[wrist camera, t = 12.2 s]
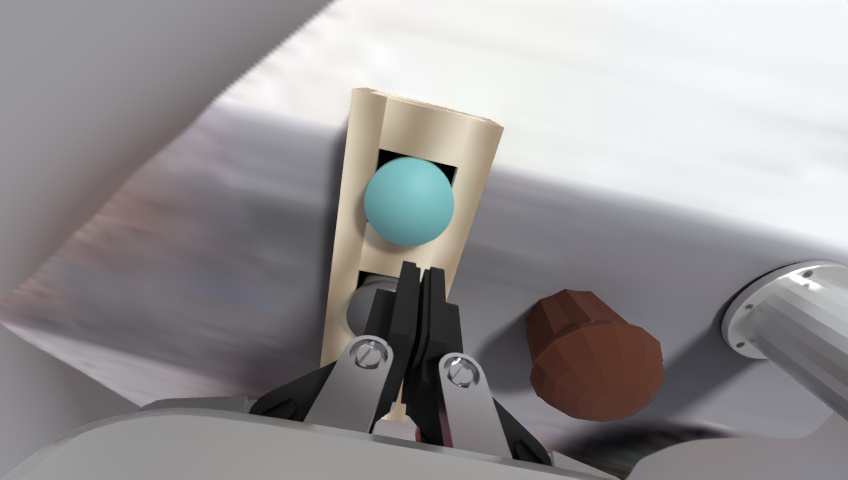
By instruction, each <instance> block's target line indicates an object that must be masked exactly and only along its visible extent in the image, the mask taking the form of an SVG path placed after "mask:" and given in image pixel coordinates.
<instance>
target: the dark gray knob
mask: <svg viewBox="0 0 848 480" xmlns="http://www.w3.org/2000/svg"><path fill="white" fill-rule="evenodd" d="M398 280H399V278H397V277H392V276H387V275H382V274H377V273H372V272H365V276H364V279H363V282H362V285H361V287H360V288H358V289H357V290H356V291H355V292H354V294H353V295H352V297H351V300H350V303H349V306H348V309H347V312H346V320H347V324H348V326H349V328H350V330H351V331H352V332H353V334H354V335H355V336H357V337H359V336H363V334H364V331H365V327H366V324H367V321H368V317H369V314H370V310H371V307H372V303H373V300H374V296H375V293H376V290H377V288H379V289H383V290H388V291H393V292H396V288H397V284H398Z"/></svg>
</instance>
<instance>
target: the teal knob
mask: <svg viewBox="0 0 848 480" xmlns="http://www.w3.org/2000/svg"><path fill="white" fill-rule="evenodd" d="M364 209H365V213H366V216H367V219H368V221H369V223H370V225H371V226H372V228H373V229H374V230H375V231H376V232H377V233H378V234H379V235H380V236H382V237H383V238H384V239H386V240H388V241H390V242H392V243H395V244H398V245H403V246H417V245H422V244H425V243H428V242H430V241H432V240H434V239H436V238H437V237H438V236H440V235H441V234H442V233H443V232H444V231H445V229H446V228H447V227H448V225H449V223H450V221H451V219H452V216H453V212H454V197H453V192H452V188H451V185H450V183H449V181H448V179H447V177H446V176H445V174H444V173H443V172H442V171H441V170H440V167H439V165H438V164H437V162H434V161H430V160H426V159H421V158H417V157H413V156H409V155H405V154H400V153H398V154H396V155H395V156H393V157H392V158H391V159H390V160H389V162H387V163H386V164H384V165H383V166H382V167H380V168H379V169H378V170H377V171H376V173H375V174H374V175H373V177H372V179H371V181H370V182H369V184H368V186H367V189H366V192H365V196H364Z"/></svg>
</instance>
